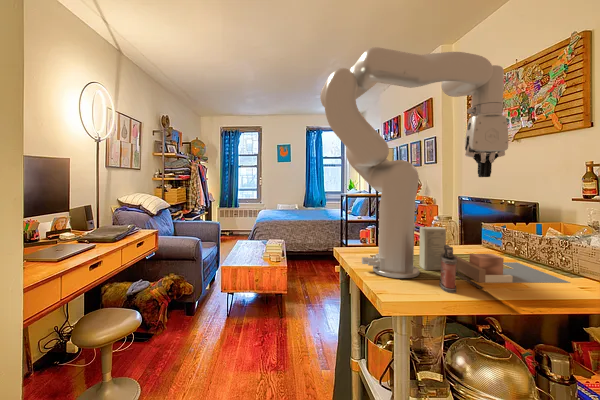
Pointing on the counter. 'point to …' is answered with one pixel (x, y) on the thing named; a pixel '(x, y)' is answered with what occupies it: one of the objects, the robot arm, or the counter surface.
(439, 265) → the skincare box
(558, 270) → the counter surface
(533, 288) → the counter surface
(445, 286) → the lighter
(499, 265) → the block
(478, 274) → the trap deck
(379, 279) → the counter surface
